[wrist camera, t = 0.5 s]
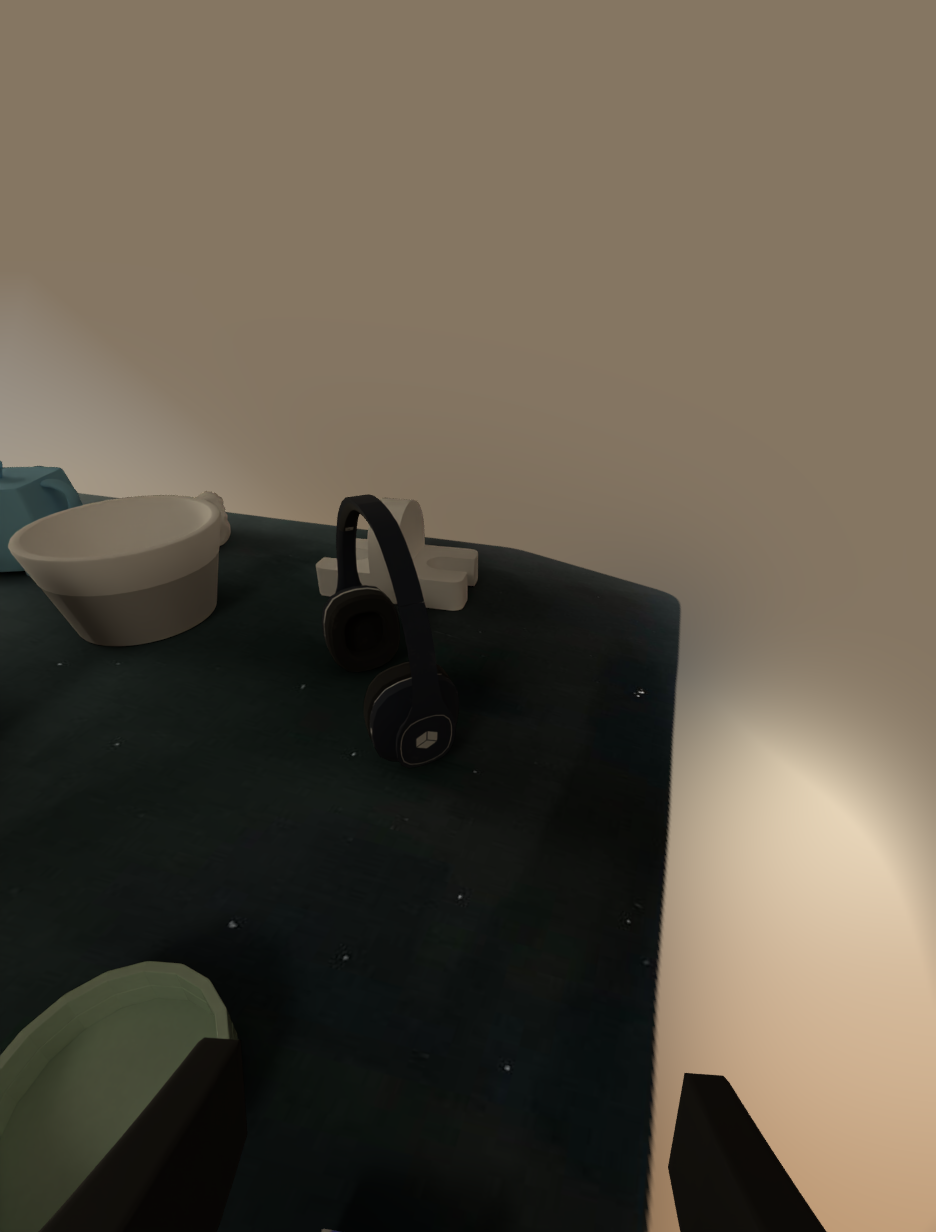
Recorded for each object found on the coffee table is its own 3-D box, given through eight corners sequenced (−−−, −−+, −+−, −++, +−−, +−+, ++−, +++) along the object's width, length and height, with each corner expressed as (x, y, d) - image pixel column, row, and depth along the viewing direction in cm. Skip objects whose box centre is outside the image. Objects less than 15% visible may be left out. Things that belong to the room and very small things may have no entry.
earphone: (473, 766, 42) (474, 542, 33) (386, 796, 40) (361, 563, 31) (389, 639, 58) (373, 464, 49) (323, 655, 55) (293, 473, 46)
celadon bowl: (172, 1313, 20) (147, 1291, 18) (-97, 1282, 20) (-142, 1257, 19) (276, 1001, 28) (266, 969, 27) (86, 986, 29) (65, 954, 27)
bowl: (42, 605, 65) (4, 516, 59) (214, 563, 75) (194, 484, 69) (57, 684, 51) (10, 580, 46) (264, 621, 61) (244, 529, 56)
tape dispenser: (461, 611, 63) (460, 521, 58) (316, 594, 67) (302, 508, 61) (479, 575, 71) (480, 493, 66) (349, 562, 75) (339, 483, 69)
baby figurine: (179, 527, 87) (203, 479, 86) (239, 566, 85) (264, 517, 84) (136, 520, 78) (161, 467, 77) (201, 563, 77) (228, 509, 75)
